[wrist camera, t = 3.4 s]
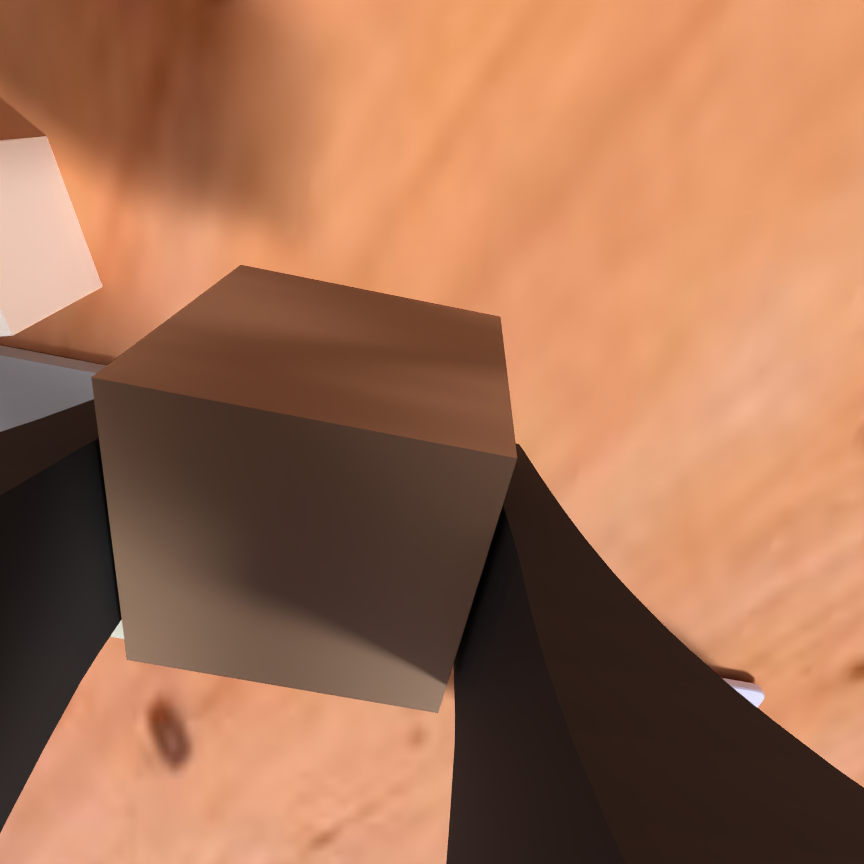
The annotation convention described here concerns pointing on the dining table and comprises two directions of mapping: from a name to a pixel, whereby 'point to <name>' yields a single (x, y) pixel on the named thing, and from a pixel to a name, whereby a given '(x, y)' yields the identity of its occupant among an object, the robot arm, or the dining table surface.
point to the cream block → (38, 238)
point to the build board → (41, 385)
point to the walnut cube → (306, 484)
